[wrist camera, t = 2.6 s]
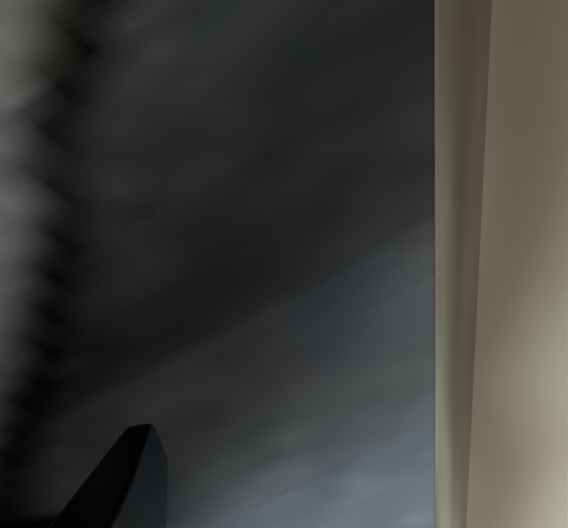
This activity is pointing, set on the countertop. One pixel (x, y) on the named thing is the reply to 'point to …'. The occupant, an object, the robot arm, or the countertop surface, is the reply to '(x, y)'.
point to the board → (501, 263)
